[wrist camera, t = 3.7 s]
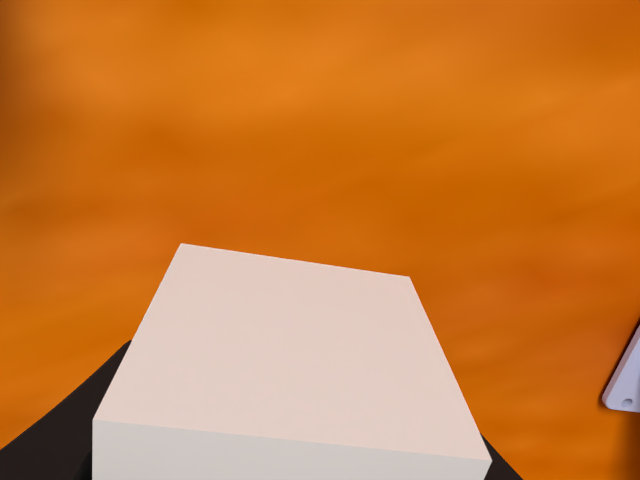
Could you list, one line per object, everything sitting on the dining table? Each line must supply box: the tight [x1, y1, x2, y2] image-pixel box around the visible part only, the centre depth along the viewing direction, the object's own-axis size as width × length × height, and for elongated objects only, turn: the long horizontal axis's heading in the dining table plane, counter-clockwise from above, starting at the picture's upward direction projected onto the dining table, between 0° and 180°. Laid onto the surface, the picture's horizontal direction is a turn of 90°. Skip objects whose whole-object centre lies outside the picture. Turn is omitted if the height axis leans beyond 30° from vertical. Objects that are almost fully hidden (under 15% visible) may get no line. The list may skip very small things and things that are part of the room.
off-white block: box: [92, 243, 492, 480], centre depth 9 cm, size 5×5×5 cm
